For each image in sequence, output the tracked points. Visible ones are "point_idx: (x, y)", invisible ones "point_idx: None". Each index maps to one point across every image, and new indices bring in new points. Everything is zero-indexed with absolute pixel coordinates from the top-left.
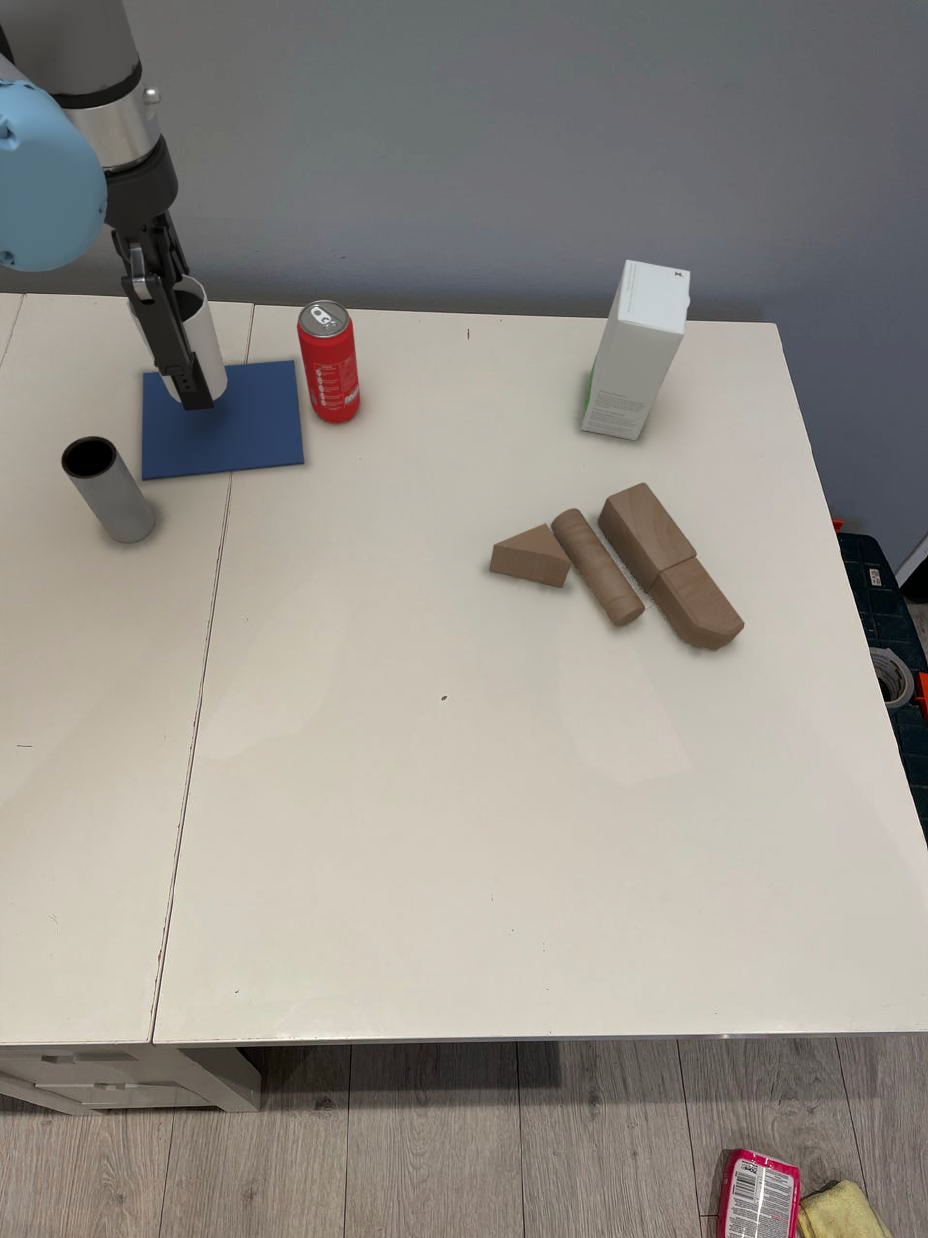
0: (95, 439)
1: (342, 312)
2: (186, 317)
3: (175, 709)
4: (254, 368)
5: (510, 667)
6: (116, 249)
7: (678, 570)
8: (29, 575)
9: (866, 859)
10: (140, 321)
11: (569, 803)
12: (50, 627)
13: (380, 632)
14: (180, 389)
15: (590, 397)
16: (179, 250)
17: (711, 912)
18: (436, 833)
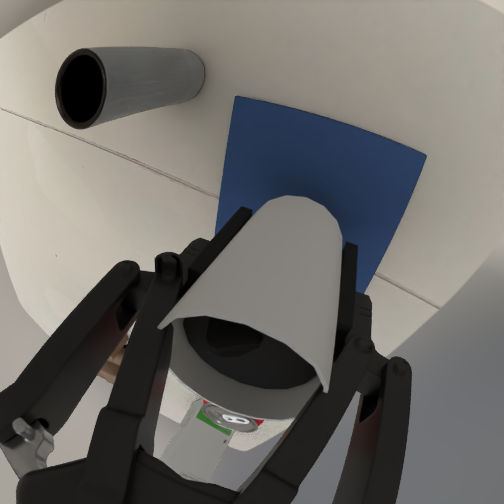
0: (101, 97)
1: (232, 428)
2: (227, 359)
3: (44, 109)
4: (360, 281)
5: (72, 289)
6: (75, 498)
7: (99, 372)
8: None
9: (45, 327)
10: (39, 353)
11: (35, 272)
12: (101, 10)
13: (79, 245)
14: (191, 243)
15: (195, 418)
16: (351, 442)
17: (24, 286)
18: (19, 223)
